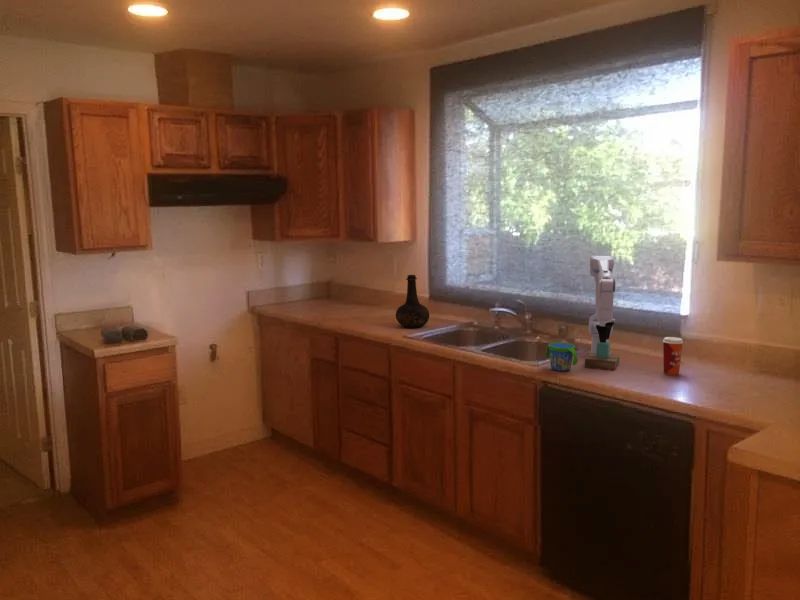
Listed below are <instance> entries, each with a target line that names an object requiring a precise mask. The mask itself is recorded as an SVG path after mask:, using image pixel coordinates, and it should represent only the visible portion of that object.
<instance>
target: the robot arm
mask: <svg viewBox="0 0 800 600" xmlns="http://www.w3.org/2000/svg"><path fill="white" fill-rule="evenodd" d="M614 265H615V259H614V256H613V255H591V256H590V257H589V274H590V276H591V277H593V278H594V281H595V313H594V314H592V315H590V317H589V318H588V334H589V335H591V344H590V345H591V346H590V349H591V350H590V353H595V354H597V343H598V342H601V343H606V342H610V340H609V339H610V336H612V335H613V330H614V324H615V322H616V318H613V317H614V294H615V292H616V280H615V279H616V278H613V271H614ZM610 355H612V354H611V352H610Z"/></svg>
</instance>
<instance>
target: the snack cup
mask: <svg viewBox="0 0 800 600" xmlns="http://www.w3.org/2000/svg"><path fill="white" fill-rule="evenodd" d="M575 349H576V346H575V345H574V344H572V343H568V342H549V343H548V345H547V347H546V350H545V358H546V359H549V361H550V367H551V370H554V371H558V372H568V371H570V370H571V366H576V365H577V364H578V355H577V351H576V350H575Z"/></svg>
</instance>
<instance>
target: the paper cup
mask: <svg viewBox="0 0 800 600" xmlns="http://www.w3.org/2000/svg"><path fill="white" fill-rule="evenodd" d="M662 342H663V346H662V347H663V350H662V351H663V353H662V355H663V374H665V375H668V374H669V375H668V376H677V375H680V369H681V368H680V367H681V360H682V353H683V352H682V350H683V343H684V341H683V338H681V337H677V336H676V337H675V336H665V337H664V338H663V340H662Z"/></svg>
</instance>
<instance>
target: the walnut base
mask: <svg viewBox="0 0 800 600" xmlns="http://www.w3.org/2000/svg"><path fill="white" fill-rule="evenodd" d="M596 355H597V354H595V353H591V352H590V353H588V355H587V356H586V357H585V358H584V368H586V367H589V368H588V369H596V368H600V370H607V369H611V371H616V369H617V368H618V366H619V365H620V355H619V354H618V355H617V354H615V355H614V354H610V357H609V358H608V359H603V358H596ZM618 364H619V365H618Z"/></svg>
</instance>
